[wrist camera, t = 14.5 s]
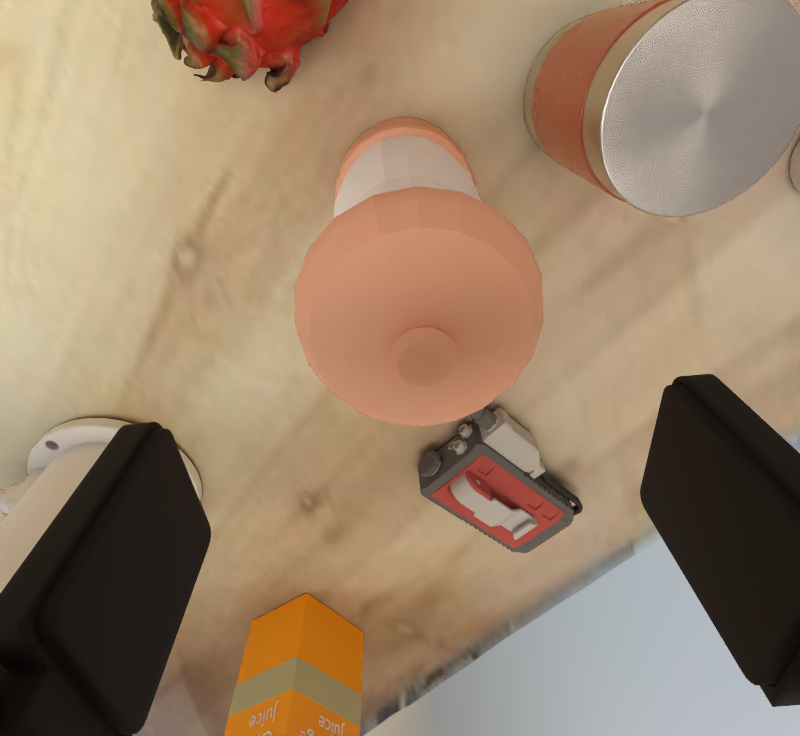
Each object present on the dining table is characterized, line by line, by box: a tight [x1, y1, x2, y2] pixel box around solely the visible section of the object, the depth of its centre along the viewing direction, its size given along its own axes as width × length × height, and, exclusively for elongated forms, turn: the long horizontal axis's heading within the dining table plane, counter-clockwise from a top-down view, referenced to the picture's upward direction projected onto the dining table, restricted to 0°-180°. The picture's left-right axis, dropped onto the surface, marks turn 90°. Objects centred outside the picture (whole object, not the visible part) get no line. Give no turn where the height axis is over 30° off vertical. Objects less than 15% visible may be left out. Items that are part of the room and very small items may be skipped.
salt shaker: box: [295, 117, 543, 427], centre depth 20 cm, size 7×7×19 cm
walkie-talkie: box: [418, 407, 583, 553], centre depth 37 cm, size 9×4×20 cm
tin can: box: [524, 0, 800, 217], centre depth 21 cm, size 7×7×11 cm
